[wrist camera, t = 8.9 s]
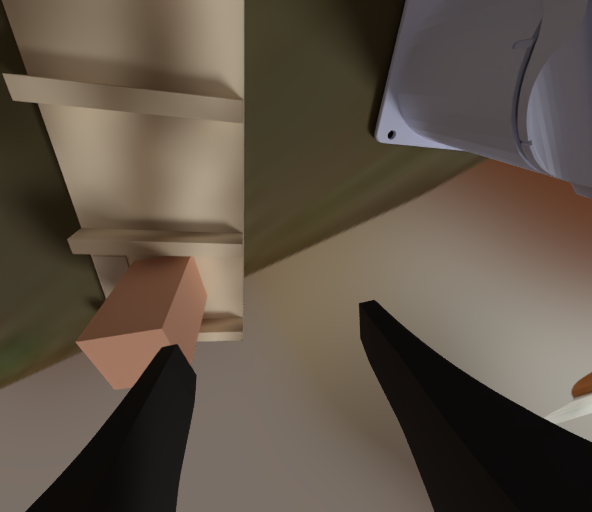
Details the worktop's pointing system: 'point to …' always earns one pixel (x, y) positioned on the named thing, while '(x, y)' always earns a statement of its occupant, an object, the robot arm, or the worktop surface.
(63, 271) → the worktop surface
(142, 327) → the block
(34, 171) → the worktop surface
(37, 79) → the notched rack
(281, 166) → the worktop surface
